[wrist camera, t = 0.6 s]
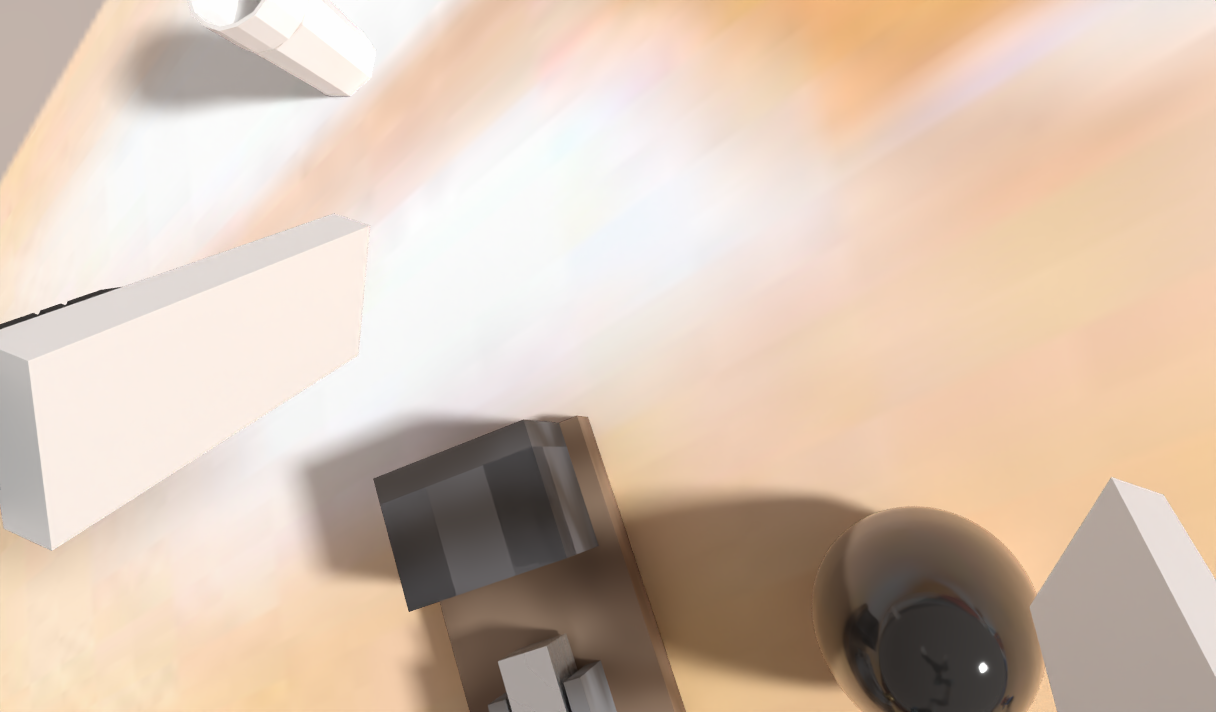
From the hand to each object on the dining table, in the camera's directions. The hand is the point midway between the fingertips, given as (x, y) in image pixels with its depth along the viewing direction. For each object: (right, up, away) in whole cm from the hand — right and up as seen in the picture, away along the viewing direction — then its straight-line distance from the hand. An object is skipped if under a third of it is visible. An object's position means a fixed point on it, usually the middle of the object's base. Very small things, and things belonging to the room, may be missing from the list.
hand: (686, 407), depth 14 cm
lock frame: (-3, -19, +33) cm, 38 cm away
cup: (-20, +22, +43) cm, 53 cm away
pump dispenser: (+15, -12, +28) cm, 34 cm away
